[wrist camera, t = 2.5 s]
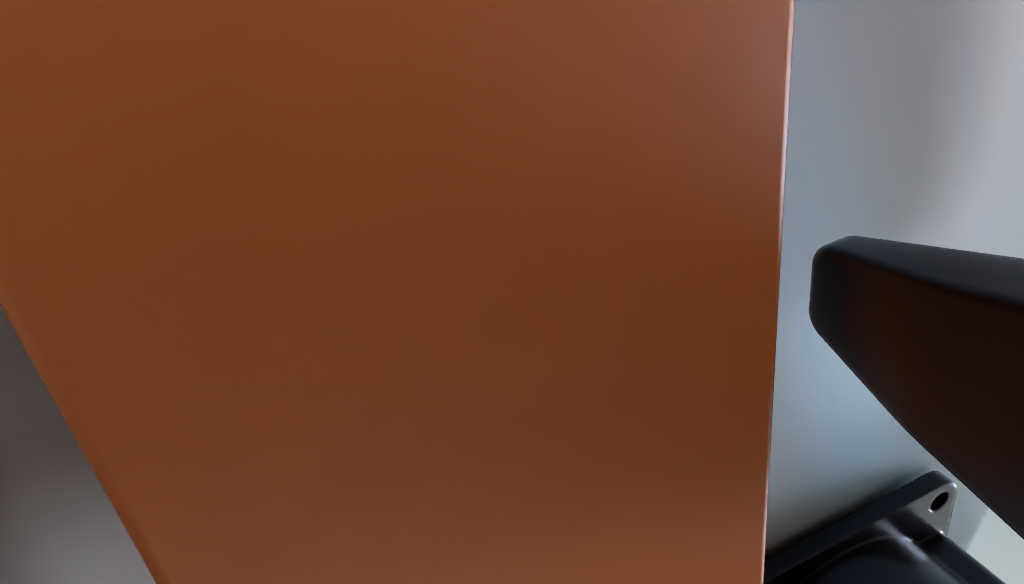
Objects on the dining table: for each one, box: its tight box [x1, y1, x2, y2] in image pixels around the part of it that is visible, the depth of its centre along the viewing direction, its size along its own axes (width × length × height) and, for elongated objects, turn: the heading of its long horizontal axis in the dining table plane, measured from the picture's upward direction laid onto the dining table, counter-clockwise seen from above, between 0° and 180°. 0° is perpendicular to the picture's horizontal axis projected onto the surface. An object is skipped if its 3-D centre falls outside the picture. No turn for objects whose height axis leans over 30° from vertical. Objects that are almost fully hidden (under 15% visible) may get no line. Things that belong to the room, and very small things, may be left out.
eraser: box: [0, 0, 795, 584], centre depth 8 cm, size 4×10×5 cm, turn 8°
